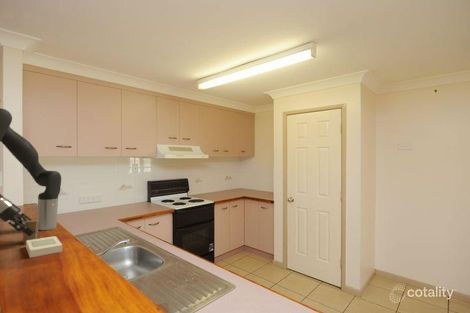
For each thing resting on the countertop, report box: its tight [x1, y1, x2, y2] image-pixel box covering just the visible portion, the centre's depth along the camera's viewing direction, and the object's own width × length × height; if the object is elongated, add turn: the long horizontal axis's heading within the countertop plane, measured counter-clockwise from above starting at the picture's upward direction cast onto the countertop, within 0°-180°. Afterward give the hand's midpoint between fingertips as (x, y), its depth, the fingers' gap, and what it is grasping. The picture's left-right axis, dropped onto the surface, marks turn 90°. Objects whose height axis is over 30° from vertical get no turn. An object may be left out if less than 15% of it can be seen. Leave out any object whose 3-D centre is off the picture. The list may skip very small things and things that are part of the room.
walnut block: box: [22, 219, 39, 245], centre depth 120 cm, size 5×5×10 cm
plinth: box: [25, 235, 63, 259], centre depth 111 cm, size 16×11×3 cm
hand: (34, 231), depth 120 cm, fingers open, 8 cm apart
